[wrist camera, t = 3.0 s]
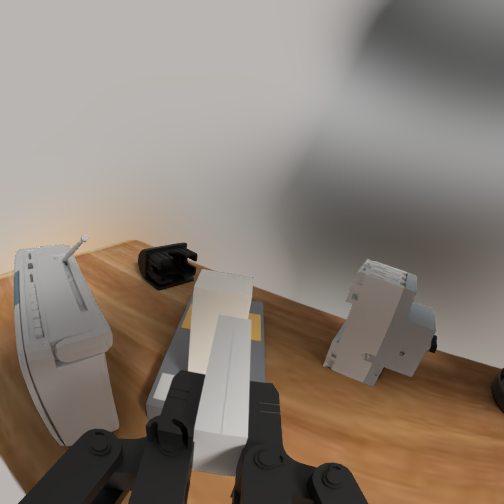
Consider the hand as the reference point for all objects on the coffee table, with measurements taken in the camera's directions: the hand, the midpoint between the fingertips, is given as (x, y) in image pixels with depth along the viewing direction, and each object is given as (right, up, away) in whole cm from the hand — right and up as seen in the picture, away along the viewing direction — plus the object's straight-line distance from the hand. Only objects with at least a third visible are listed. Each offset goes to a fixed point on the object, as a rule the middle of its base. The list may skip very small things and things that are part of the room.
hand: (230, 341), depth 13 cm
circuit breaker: (+19, -14, +25) cm, 34 cm away
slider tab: (-3, -10, +17) cm, 20 cm away
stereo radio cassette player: (-21, -11, +13) cm, 27 cm away
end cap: (-16, -1, +44) cm, 47 cm away
